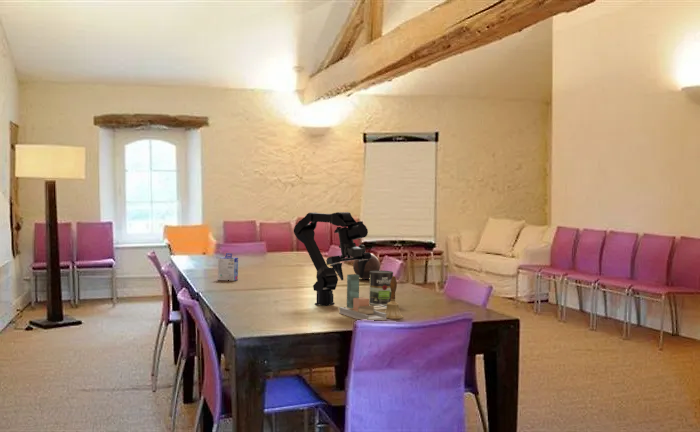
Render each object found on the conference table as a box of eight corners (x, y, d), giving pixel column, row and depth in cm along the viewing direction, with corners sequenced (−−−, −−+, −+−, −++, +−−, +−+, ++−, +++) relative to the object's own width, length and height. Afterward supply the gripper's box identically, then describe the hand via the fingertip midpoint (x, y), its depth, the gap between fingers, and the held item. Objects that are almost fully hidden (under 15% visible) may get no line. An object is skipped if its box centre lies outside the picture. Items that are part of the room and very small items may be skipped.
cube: (353, 309, 266) (353, 297, 266) (363, 308, 269) (363, 297, 268) (359, 311, 262) (359, 299, 262) (369, 310, 265) (369, 298, 265)
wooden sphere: (382, 281, 373) (382, 253, 372) (355, 281, 371) (355, 253, 370) (377, 277, 388) (377, 251, 387) (351, 277, 386) (351, 251, 385)
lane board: (339, 313, 271) (339, 307, 271) (379, 309, 281) (379, 303, 281) (366, 322, 254) (366, 315, 254) (407, 317, 263) (407, 311, 263)
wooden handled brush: (401, 315, 269) (402, 275, 269) (404, 319, 261) (405, 277, 260) (381, 315, 269) (381, 274, 268) (382, 318, 261) (383, 277, 260)
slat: (343, 310, 271) (344, 274, 271) (357, 309, 274) (357, 274, 274) (359, 315, 260) (359, 278, 260) (373, 313, 264) (374, 277, 263)
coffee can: (395, 305, 293) (396, 272, 292) (373, 306, 290) (373, 273, 289) (388, 301, 303) (388, 270, 302) (366, 302, 300) (366, 270, 299)
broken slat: (365, 309, 275) (365, 306, 275) (378, 308, 278) (378, 305, 278) (375, 312, 268) (375, 309, 268) (388, 311, 272) (388, 308, 272)
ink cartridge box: (238, 279, 370) (238, 253, 369) (234, 281, 364) (234, 254, 364) (221, 279, 372) (221, 252, 372) (217, 280, 367) (217, 253, 366)
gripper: (335, 240, 271) (341, 279, 269) (375, 236, 280) (381, 274, 278) (323, 245, 280) (329, 282, 278) (362, 240, 289) (368, 277, 287)
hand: (352, 279), depth 280 cm, fingers open, 9 cm apart
